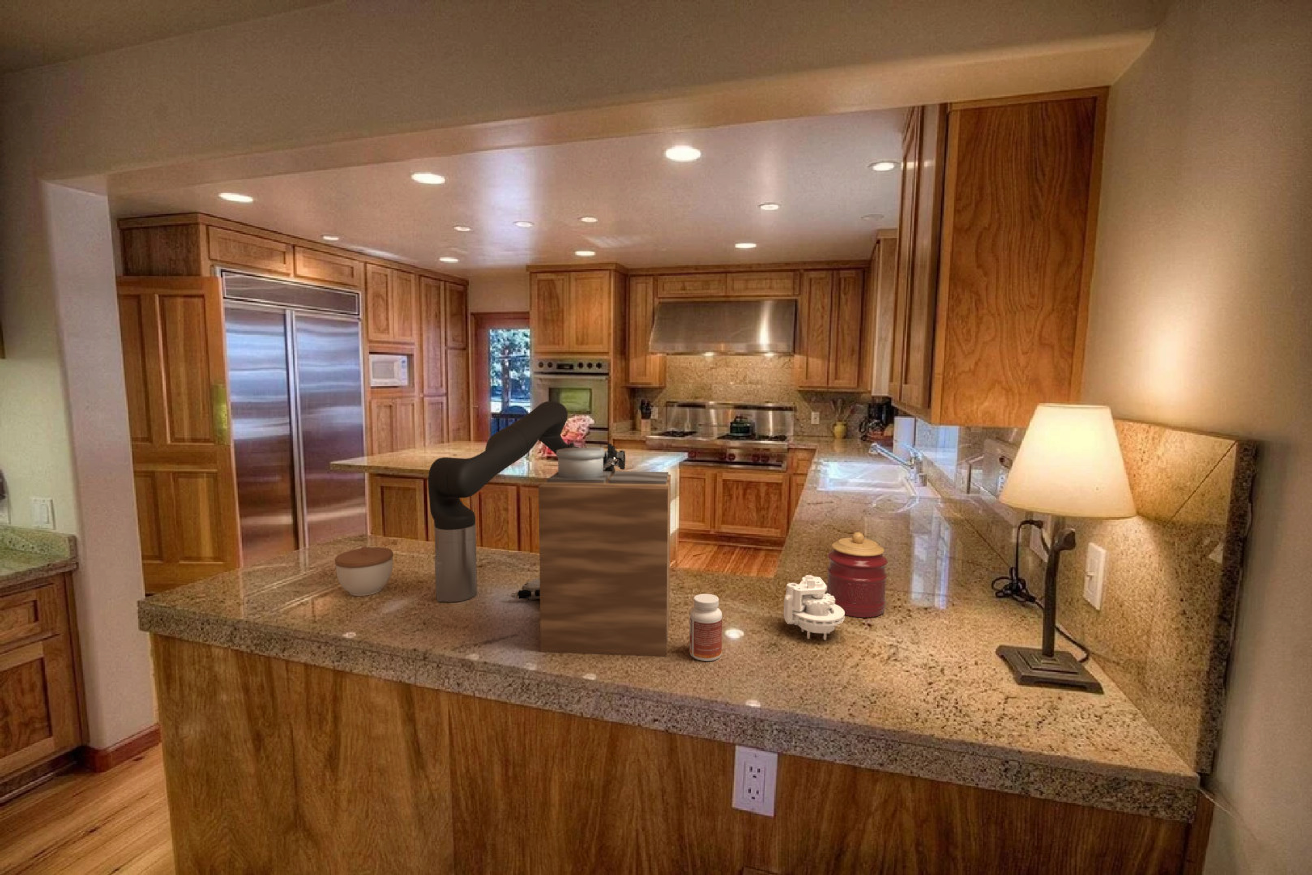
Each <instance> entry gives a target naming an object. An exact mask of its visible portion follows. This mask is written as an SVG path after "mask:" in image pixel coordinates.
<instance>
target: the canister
mask: <svg viewBox="0 0 1312 875" xmlns="http://www.w3.org/2000/svg"><path fill="white" fill-rule="evenodd" d="M831 548H832V550H831V551H829V552H828V553H827V559H829V565H828V566H827V583H826V585H827V590H826V592H825V594H827V593H828V594H830V595H831V596H833V597H834V599H835V603H834V604H836V605H838V606H840V607H841V608H842V609H843V610H844V612H845V615H844V616H848V617H853V618H874V617H878V616H881V615H883V614H884V612H885V608H886V603H887V602H886V587H887V586H886V584H887V577H888V576H887V574H888V573H887V572H886V565H888V563H889V561H888V558H886V557H885V556H884V555H883V554H884V553H885V549H884V548H883V547H882V546H881V545H879V544H878V543H877V542H876V541H874V540H871V539H869V538H865V536H864V534H863V533H862V532H857V531H856V532H854V533H853V534H852V536H851V537H842V538H840V539H838V540H837V541H835V542H833V543H832V544H831Z"/></svg>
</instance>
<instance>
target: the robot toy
mask: <svg viewBox="0 0 1312 875" xmlns="http://www.w3.org/2000/svg"><path fill="white" fill-rule="evenodd" d="M517 597H518V599H519V600H521V599H523V600H524V599H529V600H534V601H535V600H540V577H539V578H535V579H532V580H530V581H527V582H526V583H525V584H524V583H523V584H522V587H521V589H519V590H518V592H517V591H515V592H513V593H512V594H511V598H515V599H516V598H517Z"/></svg>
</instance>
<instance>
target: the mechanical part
mask: <svg viewBox="0 0 1312 875" xmlns="http://www.w3.org/2000/svg"><path fill="white" fill-rule="evenodd" d="M785 588H786V589H785V590H786V593H785V596H784V600H783V618H784V620H785V622H786V624H787V625H794V626H799V627H800V629H801V630H800V631H801V632H802V633H804V632H805V631H806V638H807V639H809V640H810V637H811V633H814V634H823V640H824V641H827V634H828V635H830V633H831V632H833V631H834V630H835V629H836V626H838V625H841V624H842V623H843V622H844V621H845V618H846V617H845V616H846V615H845V612H844V610H843V609H842V608H841V607H840V606H838V605H836V604H834V603H835V599H834V597H833V596H831V595H830V594H828V593H827V583H825V582H824V580H823V579H822V578H821V577H820V576H813V575H810V574H809V575H808V574H807V575H806V574H805V576H802V578H801V581H800V583H796V582H788V583H787V584H786V587H785ZM826 593H827V594H826Z"/></svg>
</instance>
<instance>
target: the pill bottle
mask: <svg viewBox="0 0 1312 875" xmlns="http://www.w3.org/2000/svg"><path fill="white" fill-rule="evenodd" d="M719 602H720V601H719V597H718V596H717V595H714V594H710V593H701V594H696V595H695V596H694V597H693V607H692V608H691V610H690V612H689V639H688V640H689V649H688V650H689V654H690V656H691V658H693V659H695V660H698V661H704V662H711V661H715V660H718V659H719V658H721V656H722V654H723V612H722V610H721V609H720V608H719V606H720V603H719Z"/></svg>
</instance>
